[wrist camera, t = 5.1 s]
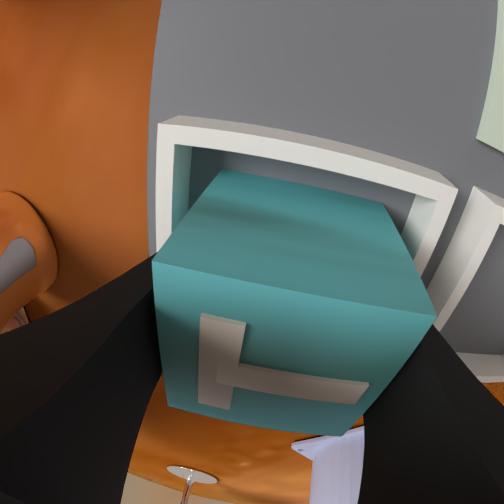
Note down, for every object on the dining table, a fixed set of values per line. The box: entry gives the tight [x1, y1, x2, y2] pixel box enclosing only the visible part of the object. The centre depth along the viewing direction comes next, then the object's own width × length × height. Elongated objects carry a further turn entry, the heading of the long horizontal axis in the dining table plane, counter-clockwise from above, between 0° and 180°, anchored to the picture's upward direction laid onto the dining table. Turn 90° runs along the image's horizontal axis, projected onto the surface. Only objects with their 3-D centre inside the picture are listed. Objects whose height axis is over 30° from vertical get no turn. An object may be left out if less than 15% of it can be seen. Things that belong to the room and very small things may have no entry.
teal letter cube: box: [152, 169, 437, 437], centre depth 8 cm, size 5×5×5 cm
